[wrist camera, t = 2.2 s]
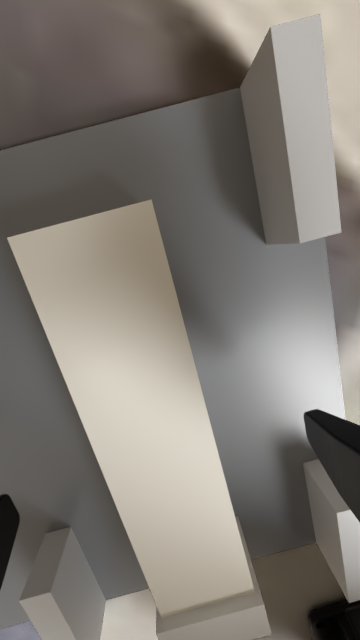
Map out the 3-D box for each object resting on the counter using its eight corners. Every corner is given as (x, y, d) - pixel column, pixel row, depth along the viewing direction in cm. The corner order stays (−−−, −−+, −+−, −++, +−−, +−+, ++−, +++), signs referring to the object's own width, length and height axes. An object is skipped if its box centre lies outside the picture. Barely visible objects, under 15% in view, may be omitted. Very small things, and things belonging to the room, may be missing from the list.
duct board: (350, 519, 15) (409, 603, 11) (-149, 656, 14) (-247, 786, 11) (297, 80, 9) (378, -17, 6) (-482, 286, 9) (-869, 308, 6)
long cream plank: (244, 541, 14) (271, 634, 10) (166, 563, 14) (168, 663, 10) (159, 212, 10) (159, 193, 6) (47, 242, 10) (-11, 239, 6)
